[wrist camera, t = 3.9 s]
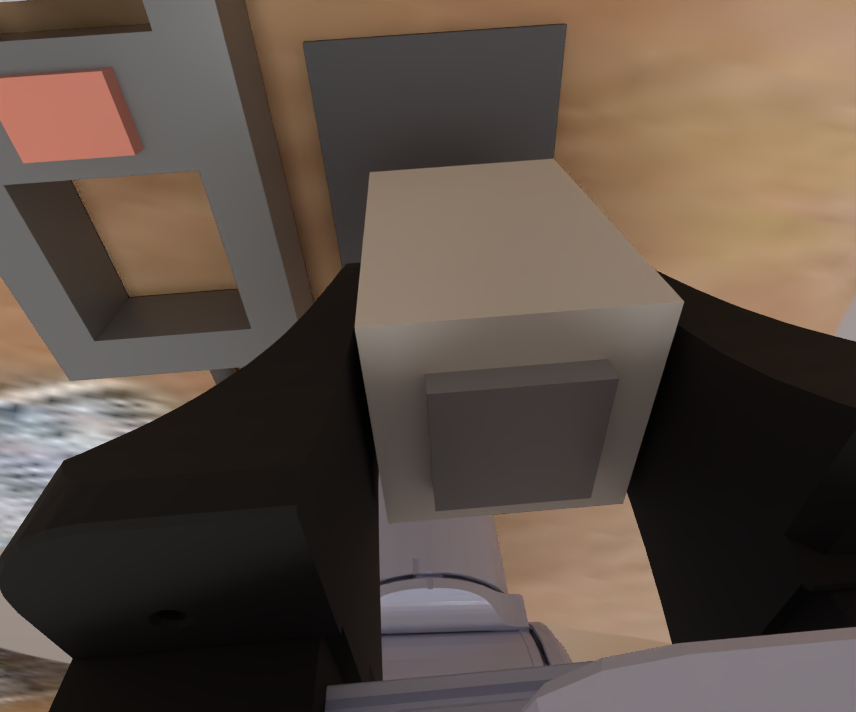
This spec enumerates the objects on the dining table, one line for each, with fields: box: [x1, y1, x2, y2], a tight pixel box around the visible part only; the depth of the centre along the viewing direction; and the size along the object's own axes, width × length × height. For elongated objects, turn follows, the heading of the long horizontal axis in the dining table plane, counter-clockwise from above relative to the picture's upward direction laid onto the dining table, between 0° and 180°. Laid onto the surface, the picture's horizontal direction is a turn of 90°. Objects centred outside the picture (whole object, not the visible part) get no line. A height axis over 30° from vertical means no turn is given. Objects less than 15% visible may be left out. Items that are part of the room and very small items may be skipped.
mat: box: [303, 24, 567, 268], centre depth 18 cm, size 8×8×1 cm
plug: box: [355, 159, 684, 524], centre depth 9 cm, size 4×4×6 cm
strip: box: [0, 0, 314, 385], centre depth 14 cm, size 21×9×6 cm, turn 3°
